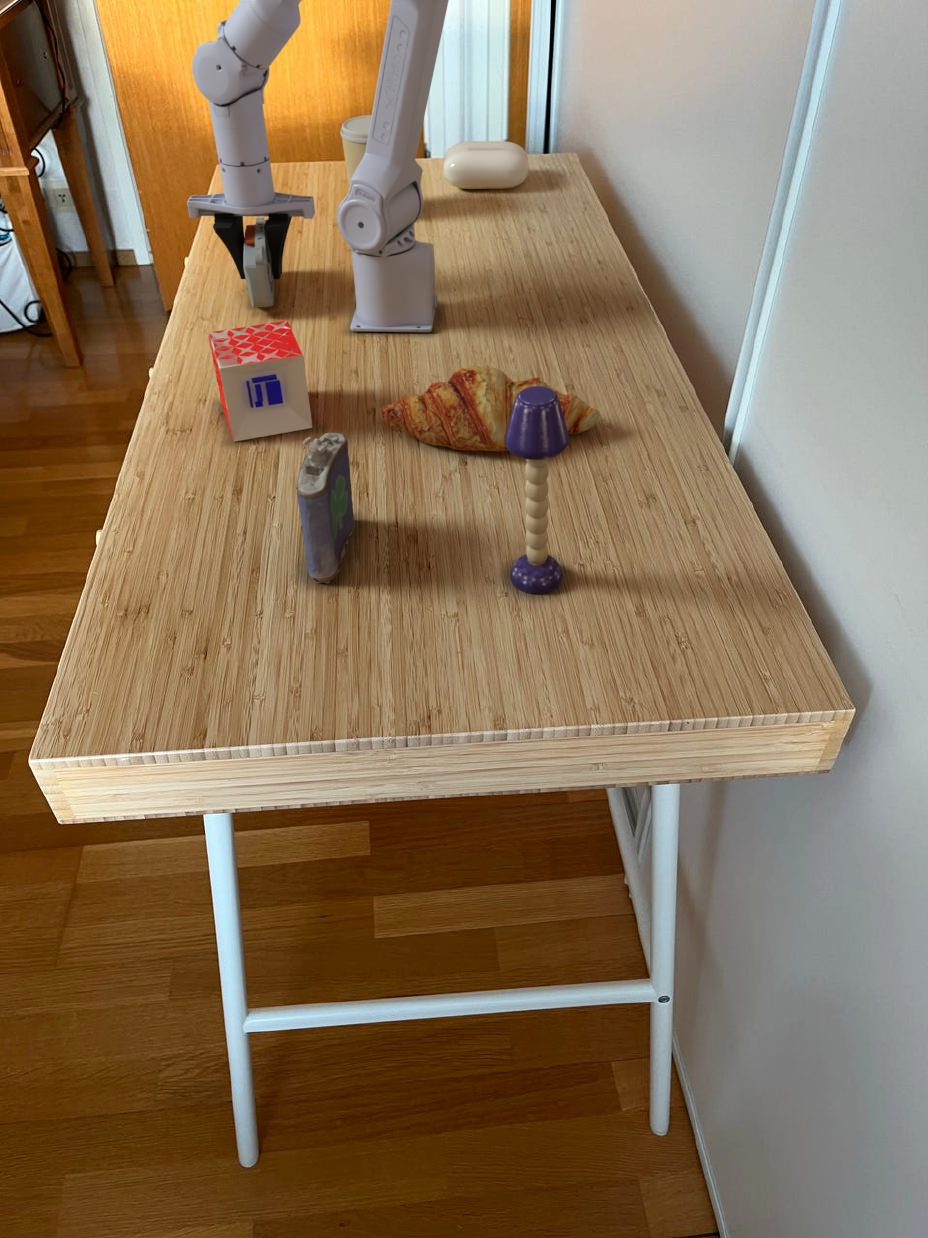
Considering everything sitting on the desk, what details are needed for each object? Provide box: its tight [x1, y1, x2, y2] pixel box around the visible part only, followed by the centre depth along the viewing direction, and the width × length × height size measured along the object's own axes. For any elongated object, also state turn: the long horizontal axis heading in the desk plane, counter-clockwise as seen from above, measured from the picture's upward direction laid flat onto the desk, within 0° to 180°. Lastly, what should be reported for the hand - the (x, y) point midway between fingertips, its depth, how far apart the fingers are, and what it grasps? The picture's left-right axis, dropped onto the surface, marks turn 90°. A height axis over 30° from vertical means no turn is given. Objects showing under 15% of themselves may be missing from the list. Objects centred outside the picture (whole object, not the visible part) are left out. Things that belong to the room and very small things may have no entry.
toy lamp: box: [505, 386, 570, 595], centre depth 75 cm, size 5×5×17 cm
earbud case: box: [442, 140, 530, 190], centre depth 151 cm, size 10×13×5 cm
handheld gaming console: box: [243, 216, 275, 308], centre depth 120 cm, size 14×3×8 cm, turn 8°
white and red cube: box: [207, 320, 314, 443], centre depth 98 cm, size 8×8×8 cm
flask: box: [295, 432, 356, 584], centre depth 80 cm, size 9×3×11 cm, turn 172°
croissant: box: [381, 365, 601, 452], centre depth 96 cm, size 21×10×8 cm, turn 92°
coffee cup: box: [339, 114, 372, 188], centre depth 140 cm, size 9×9×12 cm
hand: (261, 276), depth 121 cm, fingers closed on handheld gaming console, 3 cm apart
